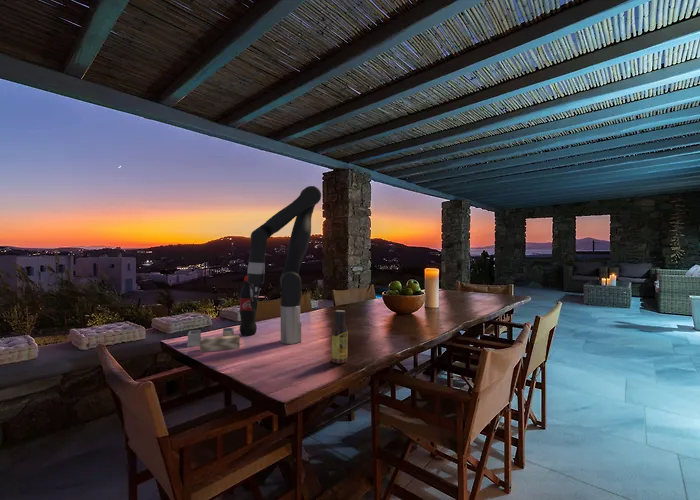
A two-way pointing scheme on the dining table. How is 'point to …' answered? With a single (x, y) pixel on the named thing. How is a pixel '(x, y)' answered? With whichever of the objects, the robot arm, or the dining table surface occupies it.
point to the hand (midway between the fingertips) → (253, 308)
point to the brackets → (195, 336)
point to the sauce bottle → (339, 338)
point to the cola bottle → (247, 311)
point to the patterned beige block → (219, 343)
